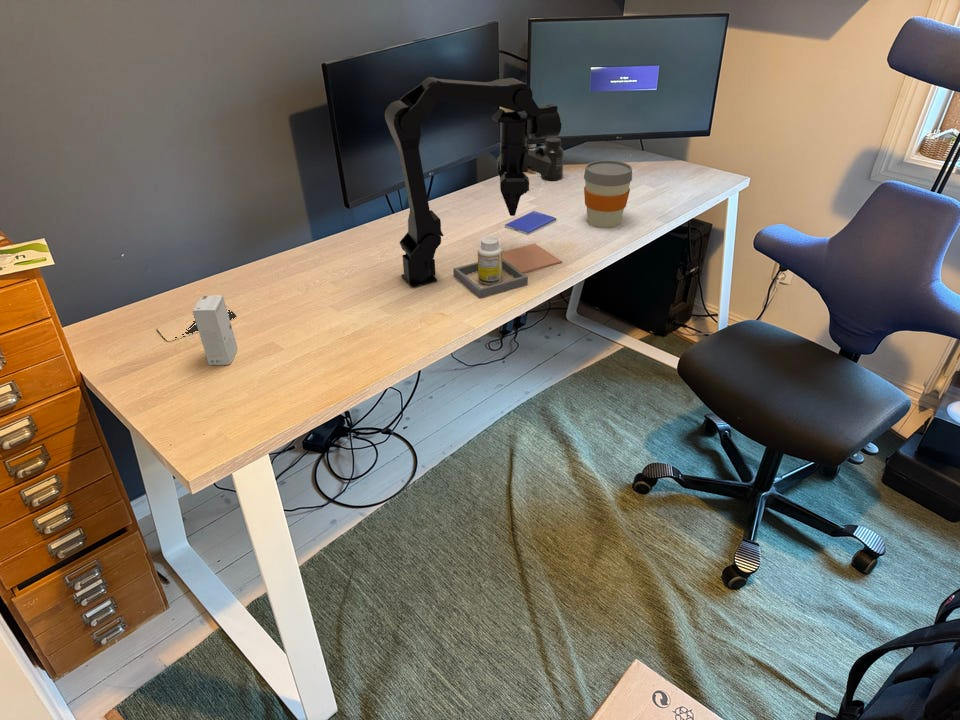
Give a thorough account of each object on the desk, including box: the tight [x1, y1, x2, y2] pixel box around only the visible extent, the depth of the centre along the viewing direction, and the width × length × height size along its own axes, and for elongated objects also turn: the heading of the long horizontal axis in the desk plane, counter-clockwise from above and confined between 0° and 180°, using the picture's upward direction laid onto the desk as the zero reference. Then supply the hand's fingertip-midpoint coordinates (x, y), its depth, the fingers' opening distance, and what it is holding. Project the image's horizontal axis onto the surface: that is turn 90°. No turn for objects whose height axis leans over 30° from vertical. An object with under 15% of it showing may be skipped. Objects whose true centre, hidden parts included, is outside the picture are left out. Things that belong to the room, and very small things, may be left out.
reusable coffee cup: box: [583, 159, 633, 229], centre depth 181 cm, size 13×13×15 cm
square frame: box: [452, 258, 529, 299], centre depth 157 cm, size 13×13×2 cm
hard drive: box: [504, 210, 557, 236], centre depth 184 cm, size 2×8×12 cm
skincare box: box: [192, 294, 238, 366], centre depth 129 cm, size 6×4×12 cm
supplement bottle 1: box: [477, 235, 503, 286], centre depth 155 cm, size 6×6×10 cm
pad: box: [502, 243, 563, 274], centre depth 166 cm, size 12×12×1 cm
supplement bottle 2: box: [540, 137, 565, 182], centre depth 212 cm, size 7×7×12 cm
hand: (511, 208), depth 158 cm, fingers open, 9 cm apart
